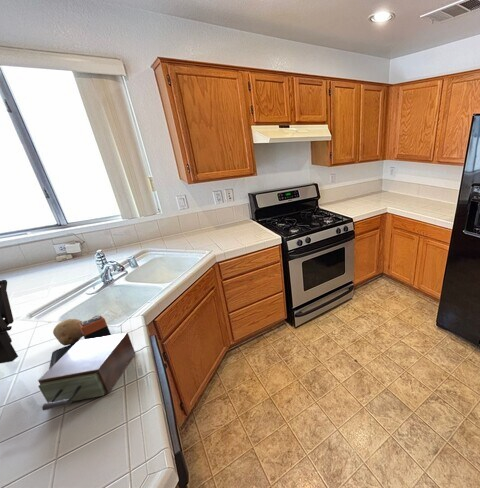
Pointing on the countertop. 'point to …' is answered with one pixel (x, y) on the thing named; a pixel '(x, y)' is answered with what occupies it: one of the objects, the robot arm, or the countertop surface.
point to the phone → (59, 354)
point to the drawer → (71, 390)
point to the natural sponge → (68, 331)
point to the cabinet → (95, 360)
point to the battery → (94, 328)
